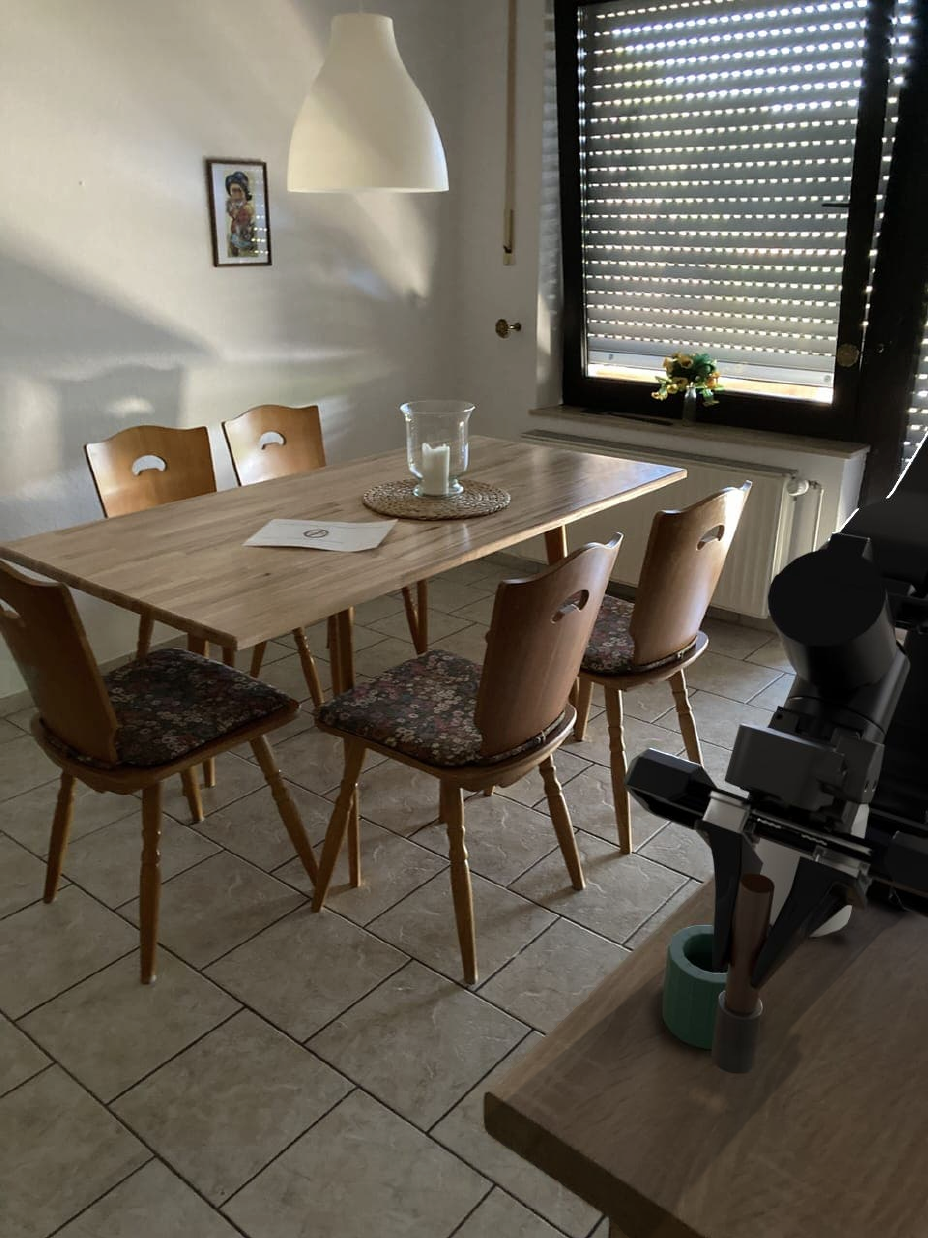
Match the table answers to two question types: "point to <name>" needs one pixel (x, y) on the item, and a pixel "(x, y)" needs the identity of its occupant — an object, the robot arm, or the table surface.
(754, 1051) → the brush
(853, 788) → the robot arm
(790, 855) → the can
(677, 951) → the teal hollow cylinder
